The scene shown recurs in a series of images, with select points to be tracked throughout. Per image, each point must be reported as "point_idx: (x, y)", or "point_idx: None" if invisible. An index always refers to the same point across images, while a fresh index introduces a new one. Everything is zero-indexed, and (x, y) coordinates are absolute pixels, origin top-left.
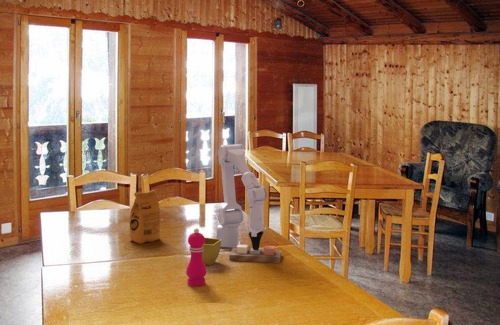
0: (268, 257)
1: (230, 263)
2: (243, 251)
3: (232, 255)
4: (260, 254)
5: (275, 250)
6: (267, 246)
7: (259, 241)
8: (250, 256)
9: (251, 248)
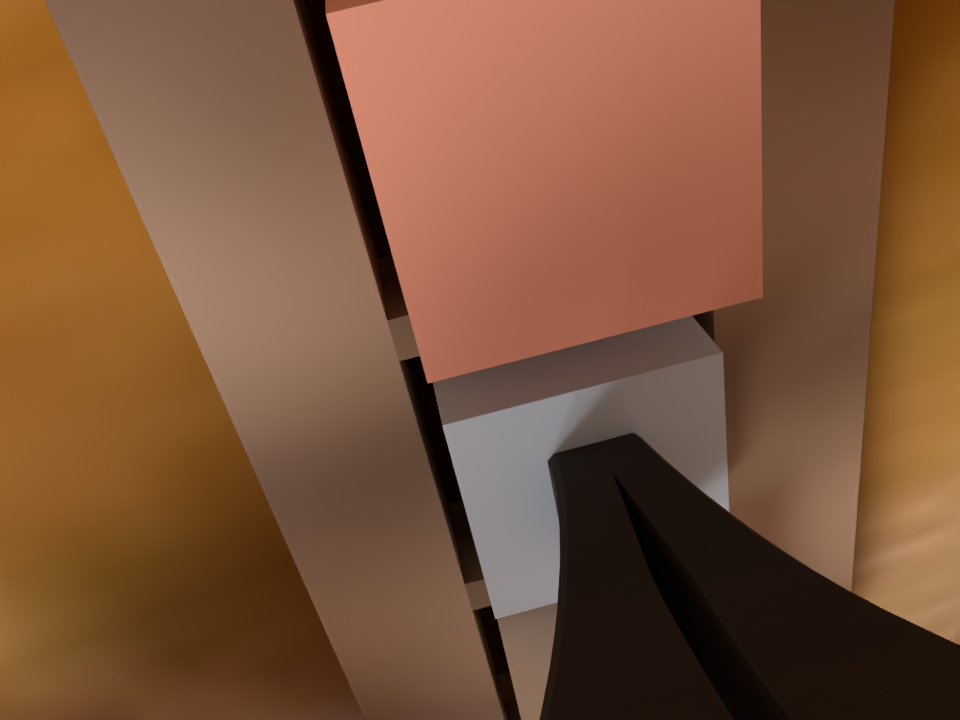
0: (884, 6)
1: (947, 576)
2: None
3: None
4: None
5: (126, 16)
6: (509, 271)
7: (836, 585)
8: (857, 432)
9: (551, 600)
